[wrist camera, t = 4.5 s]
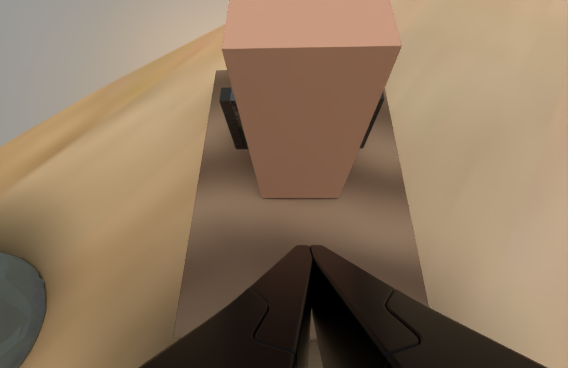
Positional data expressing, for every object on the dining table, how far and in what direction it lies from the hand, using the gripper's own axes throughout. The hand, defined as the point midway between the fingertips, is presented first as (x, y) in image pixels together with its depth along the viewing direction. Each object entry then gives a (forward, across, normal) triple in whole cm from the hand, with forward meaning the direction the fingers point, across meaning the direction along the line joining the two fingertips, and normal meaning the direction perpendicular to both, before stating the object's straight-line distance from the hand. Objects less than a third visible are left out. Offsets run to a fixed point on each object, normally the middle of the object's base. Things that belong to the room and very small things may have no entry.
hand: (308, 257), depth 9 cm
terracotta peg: (+11, 0, 0) cm, 11 cm away
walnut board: (+11, 0, -2) cm, 11 cm away
